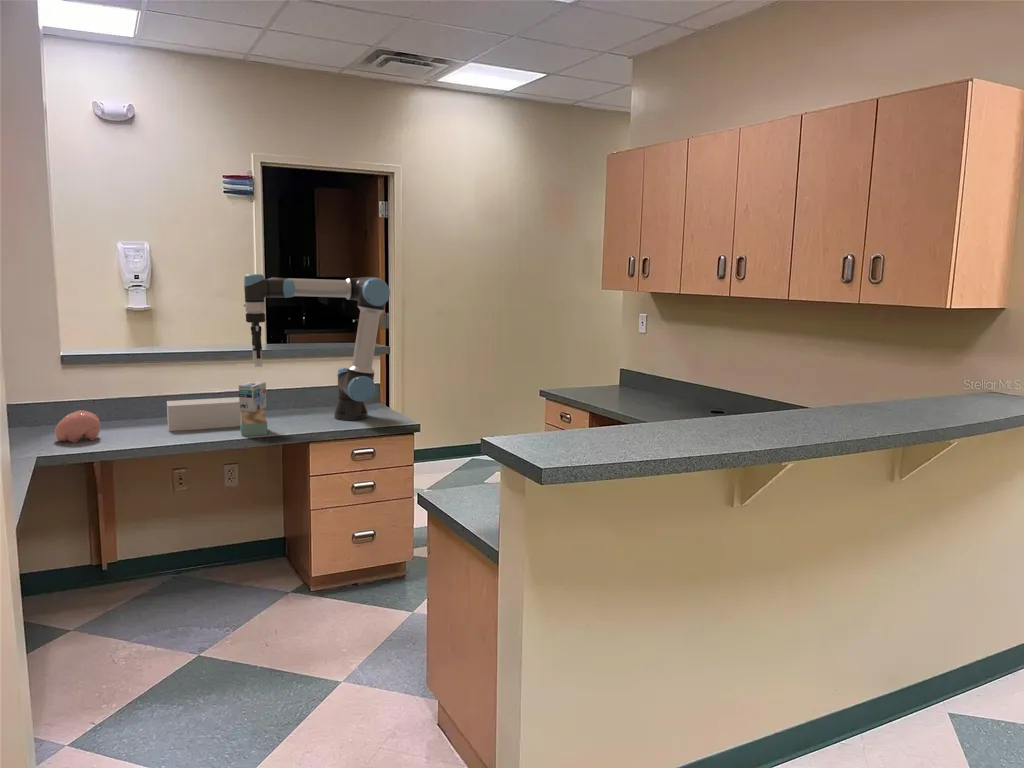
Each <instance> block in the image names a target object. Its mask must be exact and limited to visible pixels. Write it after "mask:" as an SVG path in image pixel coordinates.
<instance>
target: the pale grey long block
mask: <svg viewBox="0 0 1024 768" xmlns="http://www.w3.org/2000/svg"><path fill="white" fill-rule="evenodd" d="M166 412H167V413H166V415H167V416H166V417H167V429H168V432H174V431H189V430H190V431H191V430H200V429H201V430H202V429H203V430H204V429H215V428H216V429H217V428H218V429H219V428H233V427H234V428H235V427H240V419H241V414H240V407H239V396H238V397H237V396H236V397H235V396H234V397H222V398H221V397H218V398H216V397H215V398H201V399H199V398H198V399H182V400H181V399H179V400H166Z"/></svg>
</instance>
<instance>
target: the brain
mask: <svg viewBox="0 0 1024 768" xmlns="http://www.w3.org/2000/svg"><path fill="white" fill-rule="evenodd" d="M100 432H101V422H100V419H99V417H98V416H97V415H96V414H95V413H93V412H90V411H87V410H81V409H79V410H76V411H74V412H71V413H68V414H67V415H66V416H64V417H63V418H62V419H61V420H60V421H59V422H58V423H57V425H56V427H55V429H54V437H55V438H56V440H57V441H61V442H65V441H68V442H71V443H78V442H79V441H80V439H81V438H84V439H86V440H88V441H89V440H95V439H96V438H97V437H99V434H100Z"/></svg>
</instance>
